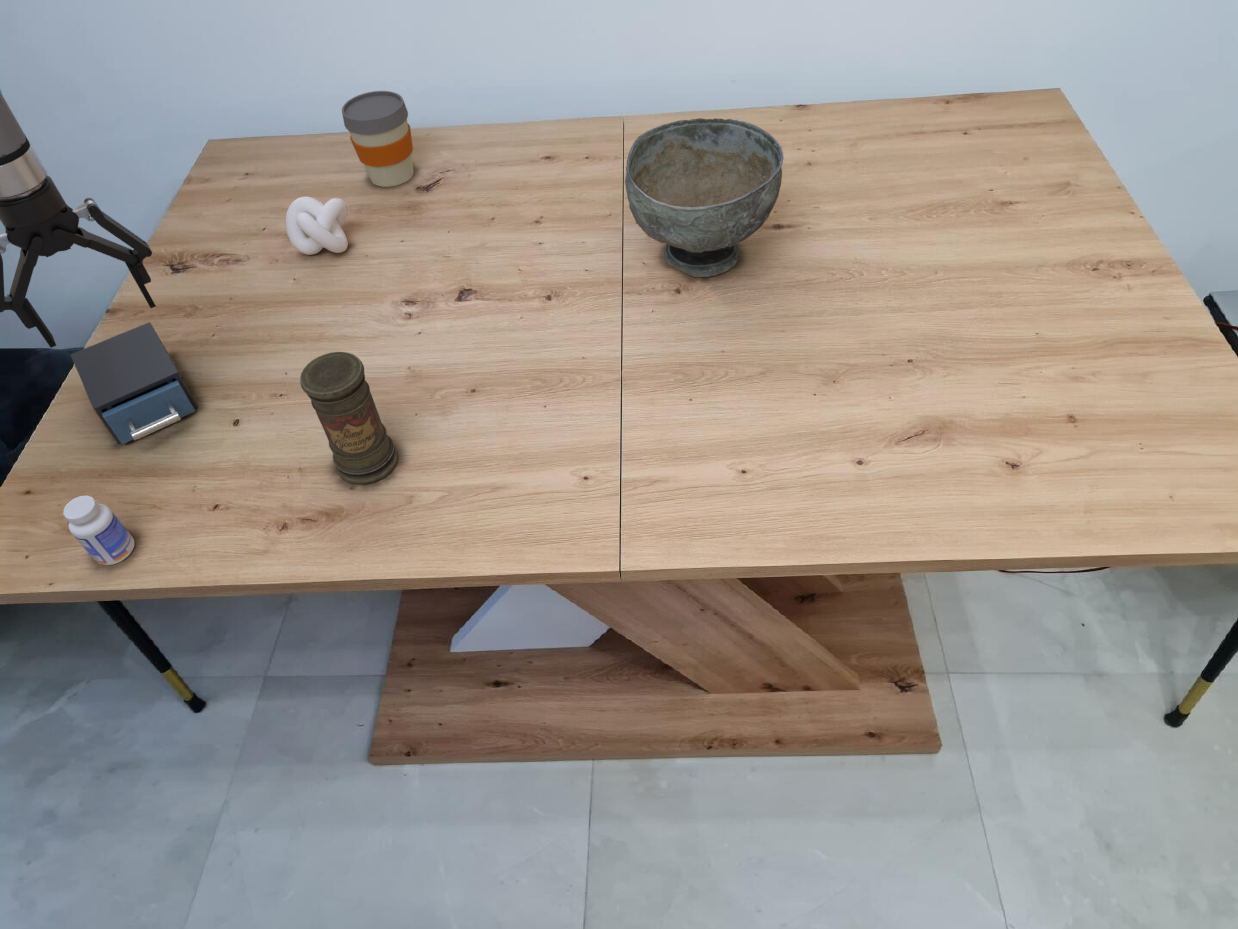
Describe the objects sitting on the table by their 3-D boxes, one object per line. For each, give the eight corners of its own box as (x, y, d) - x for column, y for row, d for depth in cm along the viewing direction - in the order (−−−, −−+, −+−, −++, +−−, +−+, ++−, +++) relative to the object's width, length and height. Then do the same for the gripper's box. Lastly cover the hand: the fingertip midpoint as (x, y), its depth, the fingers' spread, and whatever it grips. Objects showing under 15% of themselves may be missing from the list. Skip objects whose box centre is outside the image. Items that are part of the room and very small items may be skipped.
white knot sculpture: (366, 253, 168) (352, 211, 161) (302, 273, 165) (286, 231, 158) (351, 224, 175) (337, 182, 168) (290, 242, 172) (274, 201, 166)
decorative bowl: (721, 195, 172) (721, 96, 157) (809, 261, 157) (819, 158, 142) (604, 250, 164) (592, 151, 149) (686, 324, 150) (682, 223, 134)
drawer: (204, 428, 138) (188, 401, 134) (130, 462, 134) (111, 435, 130) (169, 363, 149) (153, 336, 145) (99, 393, 145) (80, 366, 141)
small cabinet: (198, 407, 143) (177, 372, 137) (118, 444, 138) (93, 408, 133) (170, 356, 152) (149, 321, 146) (94, 389, 147) (70, 354, 142)
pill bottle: (136, 530, 126) (102, 485, 119) (134, 560, 123) (99, 515, 116) (96, 541, 125) (59, 497, 118) (93, 571, 122) (55, 527, 115)
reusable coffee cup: (372, 198, 181) (351, 127, 170) (354, 171, 189) (332, 102, 177) (431, 178, 184) (413, 108, 173) (410, 152, 192) (392, 84, 181)
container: (331, 453, 134) (290, 362, 120) (389, 432, 136) (355, 341, 123) (344, 494, 128) (303, 404, 115) (405, 472, 130) (371, 380, 117)
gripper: (113, 139, 116) (182, 275, 132) (-98, 208, 108) (3, 344, 124) (127, 162, 112) (197, 299, 128) (-91, 236, 104) (12, 373, 119)
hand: (102, 322), depth 126 cm, fingers open, 13 cm apart
